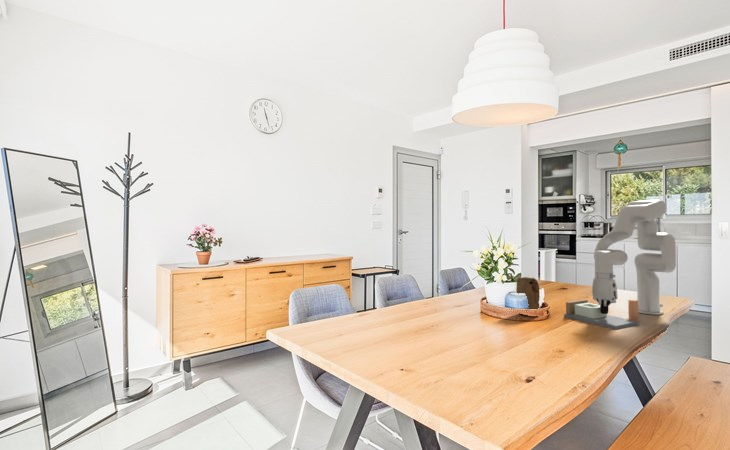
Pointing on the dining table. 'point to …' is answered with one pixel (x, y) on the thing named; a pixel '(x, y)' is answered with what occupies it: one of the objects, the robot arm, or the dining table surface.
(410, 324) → the dining table surface
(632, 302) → the orange rectangular post
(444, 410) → the dining table surface
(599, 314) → the socket block
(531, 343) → the dining table surface
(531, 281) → the block
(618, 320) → the stop board
